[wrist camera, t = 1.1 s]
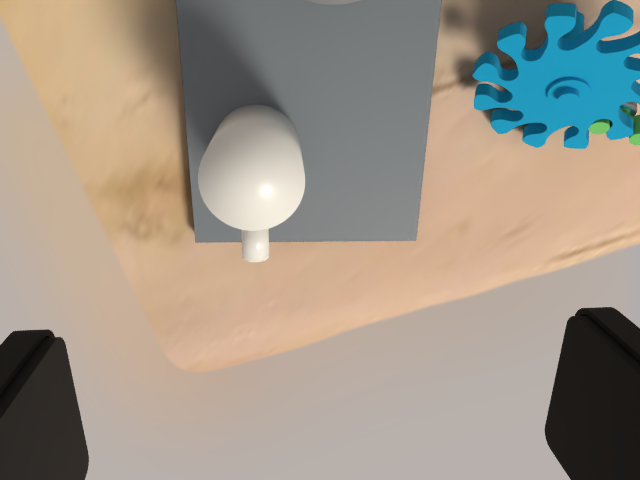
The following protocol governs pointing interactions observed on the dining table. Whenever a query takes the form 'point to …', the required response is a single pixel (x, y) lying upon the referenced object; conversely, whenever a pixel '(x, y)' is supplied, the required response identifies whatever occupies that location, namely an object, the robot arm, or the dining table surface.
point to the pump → (253, 174)
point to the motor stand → (319, 104)
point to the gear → (566, 78)
